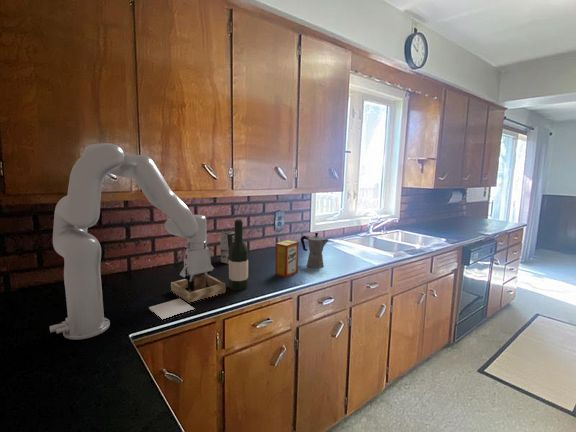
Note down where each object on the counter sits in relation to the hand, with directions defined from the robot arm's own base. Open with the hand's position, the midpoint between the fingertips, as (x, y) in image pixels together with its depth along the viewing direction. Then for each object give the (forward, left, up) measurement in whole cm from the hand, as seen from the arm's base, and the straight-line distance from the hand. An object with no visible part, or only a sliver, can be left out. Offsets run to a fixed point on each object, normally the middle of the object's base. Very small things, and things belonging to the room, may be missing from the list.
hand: (197, 287), depth 132 cm
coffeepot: (+64, -7, -2) cm, 65 cm away
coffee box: (+34, +27, -2) cm, 44 cm away
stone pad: (-15, -8, -2) cm, 17 cm away
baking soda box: (+44, -7, -2) cm, 45 cm away
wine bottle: (+16, -6, -2) cm, 18 cm away
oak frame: (0, 0, -2) cm, 2 cm away
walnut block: (0, 0, -2) cm, 2 cm away
